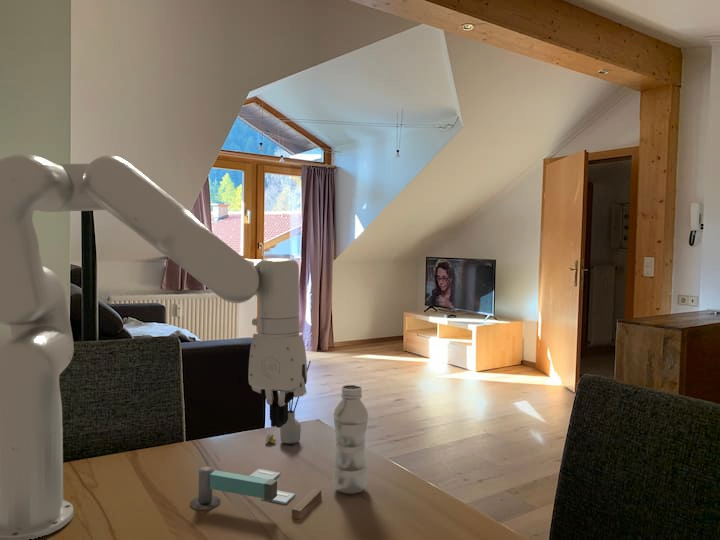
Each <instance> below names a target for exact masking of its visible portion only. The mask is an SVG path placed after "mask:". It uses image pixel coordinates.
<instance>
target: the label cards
mask: <svg viewBox="0 0 720 540" xmlns="http://www.w3.org/2000/svg"><path fill="white" fill-rule="evenodd" d="M249 476H252V477H257V478H263V479H274V480H277V478H278V477H280V476H281V472H278V471H271V470H268V469H262V468H258V469H256V470H255V471H253V473H251V474H250V475H249ZM295 496H296V493H293V492H288V491H282V490H279V489H277V496H276V497H275V498H274V499H273V500H272V501H269V500H266V501H267V502H272V503H277V504H282V505H287V504H288V503H289V502H290V501H291V500H292V499H294V498H295ZM261 500H263V501H265V500H264V499H263V498H261Z"/></svg>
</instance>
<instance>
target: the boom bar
mask: <svg viewBox="0 0 720 540" xmlns="http://www.w3.org/2000/svg"><path fill="white" fill-rule="evenodd" d="M213 470H214V469H213V467H212V466H202V467H200V468H199V469H198V492H197V493H198V496H197V497H198V501H199V503H202V504H205V503H209V502H211V501H212V496H213V490H215V491H220V492H225V493H232V494H237V495H242V496H249V497H254V498H258V499H262V498H263V499H264V500H263V501H267V500H269V501H268V502H271V501H272V500H273V499H274V498H275V497H276V496H277V490H278V479H263V478H257V477H252V476H250V475H245V474H239V473H233V472H229V471H228V472H227V471H221V470H216V469H215V470H214V471H213Z"/></svg>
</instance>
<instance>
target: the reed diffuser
mask: <svg viewBox="0 0 720 540" xmlns="http://www.w3.org/2000/svg"><path fill="white" fill-rule="evenodd" d="M310 365H311V360H309V362H308V364H307V372H308V371H309V367H310ZM299 399H300V397H297V398H296V402H295V405H294V408H293V404H294V398H293V399H292V400H291V401H290V402H289V403H288V420H287V423H286V424H284V425H283V426H281V427H280V428H279V429H280V441H281V443H285V444H296V443H298V442H300V441H301V431H302V427H301V422H299V420H297V419H296V418H295V417H296V415H295V413H296V412H295V411H296V409H297V406H298V405H297V404H298V402H299ZM265 442H266V443H267V444H269V443H272V444H275V443H276V442H277V439H276V438H275V437H274V434H273V433H269V434H268V435H267V436H266V438H265ZM268 442H269V443H268Z"/></svg>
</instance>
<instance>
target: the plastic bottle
mask: <svg viewBox="0 0 720 540" xmlns="http://www.w3.org/2000/svg"><path fill="white" fill-rule="evenodd" d="M340 397H341V400H340V402H339V403H338V404H337V406H336V408H335V409H334V411H333V423H334V428H335V429H334V431H335V441H336V442H335V443H336V444H335V446H336V449H335V450H336V451H335V461H334V467H333V470H332V481H333V486H334V488H335V489H336V490H337V491H338V492H339V493H343V494H348V495H353V494H359V493H361V492H364V490H365V488H366V487H367V483H368V478H369V477H368V469H367V465H366V453H365V452H366V451H365V446H366V444H365V443H366V433H367V427H368V419H369V413H368V410H367V408H366V407H365V405H364V402H362V400H361V399H362V397H363V394H362V386H360V385H356V384H346V385H343V386H342V387H341V393H340Z"/></svg>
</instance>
